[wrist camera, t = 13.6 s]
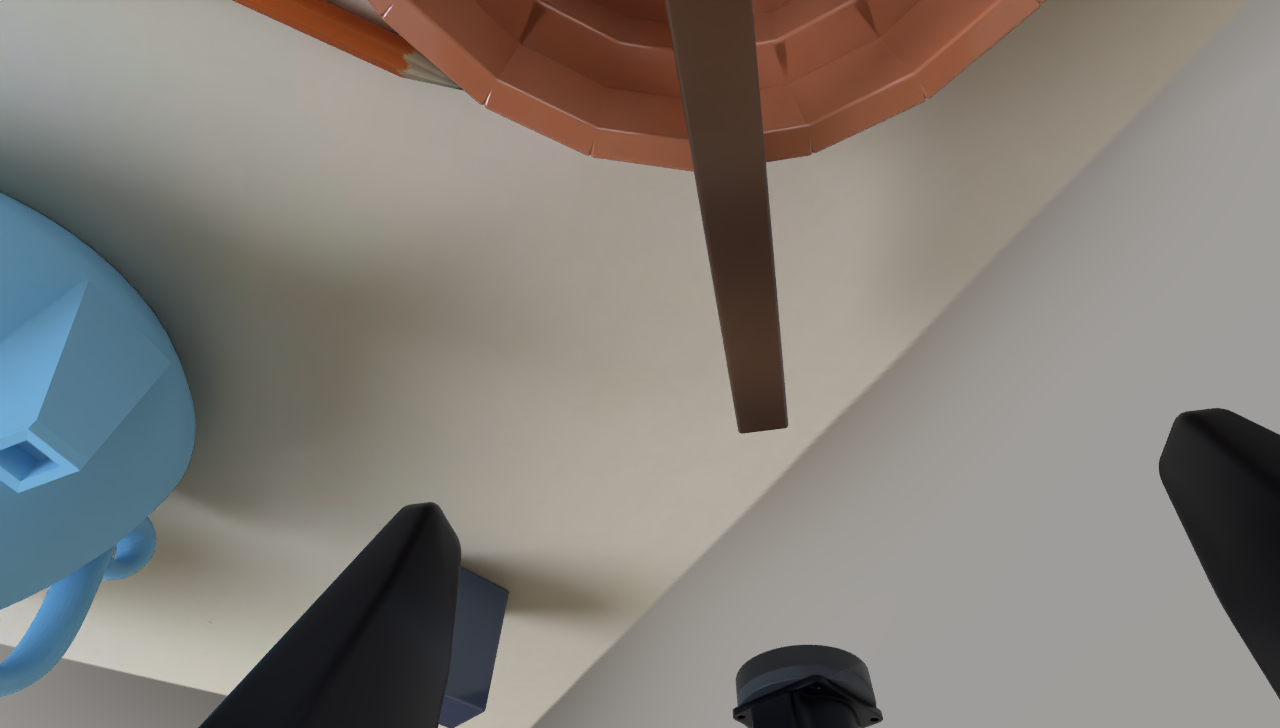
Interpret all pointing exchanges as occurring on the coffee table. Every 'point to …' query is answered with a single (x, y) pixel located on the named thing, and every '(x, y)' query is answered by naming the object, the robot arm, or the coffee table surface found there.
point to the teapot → (77, 431)
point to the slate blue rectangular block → (473, 648)
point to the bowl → (647, 76)
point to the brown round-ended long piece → (733, 196)
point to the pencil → (353, 37)
